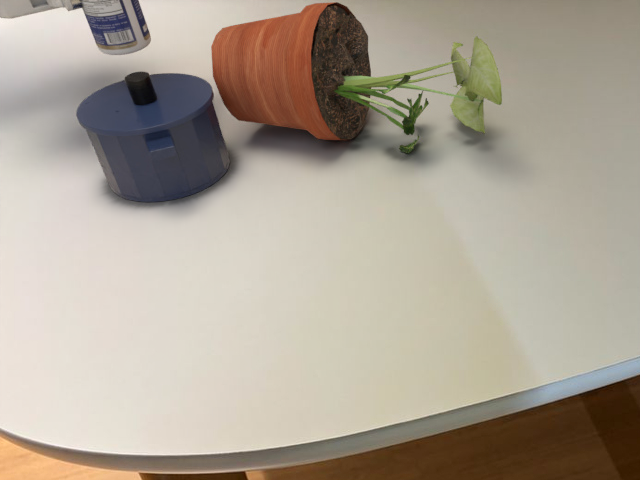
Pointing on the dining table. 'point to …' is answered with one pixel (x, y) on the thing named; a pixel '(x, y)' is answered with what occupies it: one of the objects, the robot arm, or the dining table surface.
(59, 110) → the dining table surface
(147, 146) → the pot
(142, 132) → the pot lid
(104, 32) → the pill bottle
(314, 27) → the potted plant
